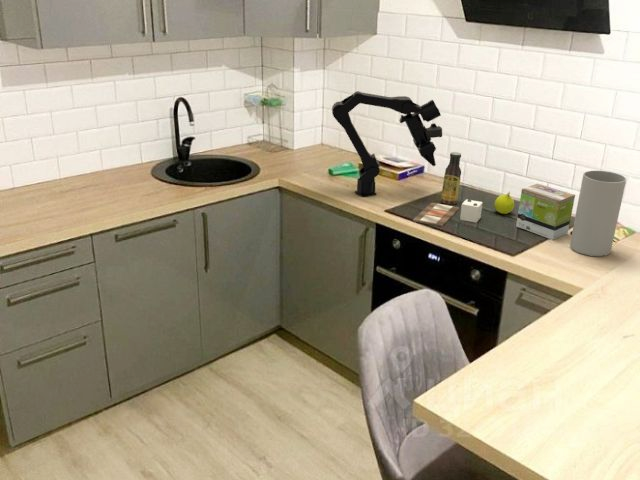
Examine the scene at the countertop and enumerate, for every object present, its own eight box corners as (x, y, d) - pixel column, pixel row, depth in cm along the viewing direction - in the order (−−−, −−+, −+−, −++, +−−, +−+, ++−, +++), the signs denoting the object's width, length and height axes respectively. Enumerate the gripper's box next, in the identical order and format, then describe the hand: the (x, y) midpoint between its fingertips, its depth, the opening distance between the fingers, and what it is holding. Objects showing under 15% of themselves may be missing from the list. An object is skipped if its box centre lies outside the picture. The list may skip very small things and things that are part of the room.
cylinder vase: (574, 255, 205) (588, 181, 195) (565, 240, 216) (579, 169, 206) (615, 258, 203) (631, 183, 193) (604, 243, 215) (619, 171, 205)
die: (464, 214, 237) (466, 197, 234) (480, 217, 235) (482, 200, 232) (460, 219, 232) (462, 202, 230) (476, 222, 230) (478, 205, 227)
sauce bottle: (438, 203, 248) (443, 153, 240) (443, 198, 253) (448, 150, 245) (455, 206, 245) (460, 156, 237) (459, 201, 250) (465, 152, 242)
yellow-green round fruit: (508, 218, 235) (512, 192, 231) (490, 213, 239) (493, 188, 235) (515, 212, 240) (519, 187, 236) (498, 208, 244) (501, 183, 240)
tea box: (514, 227, 226) (520, 187, 220) (530, 221, 232) (537, 182, 226) (552, 241, 216) (560, 199, 210) (568, 234, 222) (576, 193, 216)
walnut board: (431, 203, 247) (431, 202, 247) (459, 209, 242) (459, 207, 242) (412, 221, 230) (412, 219, 230) (442, 226, 225) (442, 224, 225)
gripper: (439, 123, 236) (456, 159, 241) (431, 112, 253) (447, 146, 258) (412, 137, 238) (429, 172, 243) (406, 125, 255) (421, 159, 261)
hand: (432, 162), depth 251 cm, fingers open, 9 cm apart
